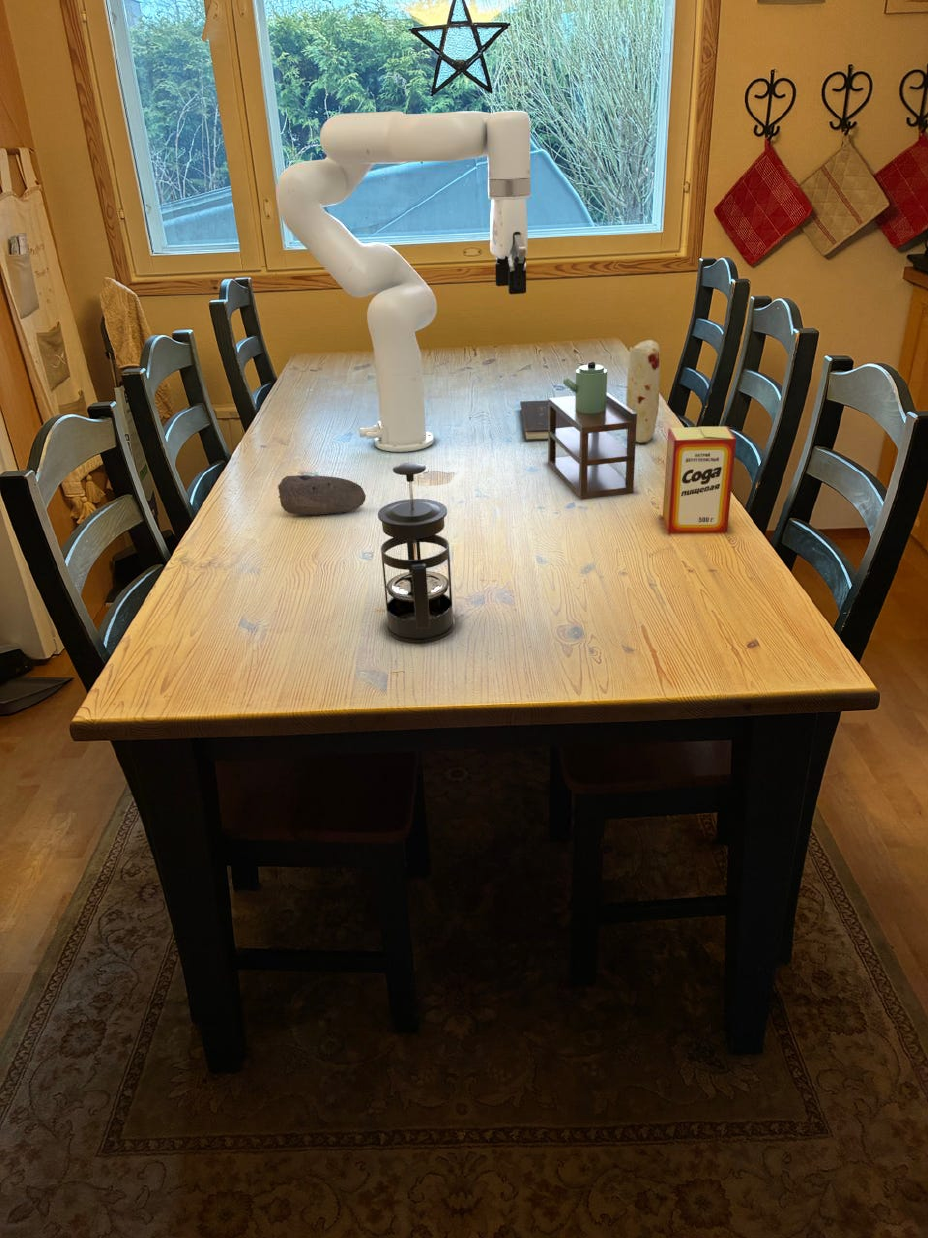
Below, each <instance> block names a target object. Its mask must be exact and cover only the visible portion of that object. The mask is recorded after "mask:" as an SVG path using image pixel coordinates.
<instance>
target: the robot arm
mask: <svg viewBox="0 0 928 1238" xmlns="http://www.w3.org/2000/svg"><path fill="white" fill-rule="evenodd" d="M319 143H320V146H321V149H322V151H323V153H324V154H325V155H326V157H325V158H323V159H316V160H315V159H314V160H306V161H300V162H296V163H293V164H290V165H289V166H288V167H286V168H285V169H284V170H283V171H282V172H281V174H280V175H279V178H278V179H277V183H276V190H275V194H276V195H275V196H276V197H275V199H276V205H277V209H278V213H279V215H280V217H281V219H282V222H283V223H284V225H285V227H286V228H287V229H288V231H289V232H290V233H291V234H292V235H293V237H295V238H296V239H297V240H298V241H299V243H301V245H303V246H304V247H305V248H306V249H307V251H309V252H310V254H311V255H312V256H313V257H314V258H315V259H316V260H317V261H318V263H319V264H320V266H322V268H323V269H325V271H326V272H327V273H328V274H329V275H330V276H331V277H332V279H334V281H335V282H336V283H337V284H338V285H339V286H340V288H342V289H343V290H344V291H345V292H346V294H348V295H350V296H351V297H354V298H365V297H369V296H371V295H374V294H376V295H375V296H374V297H373V298H372V299H371V301H370V302H369V305H368V308H367V312H366V321H367V327H368V330H369V335H370V338H371V342H372V348H373V354H374V364H375V365H374V366H375V373H376V374H375V375H376V385H377V397H378V408H379V419H380V420H378V421H377V425H373V427H359V428H358V434H359V438H366V439H367V440H372V439H374V445H375V447H376V448H377V449H378V450H382V451H384V452H385V451H387V452H394V453H403V452H404V453H407V452H413V451H418V450H423V449H426V448H428V447H430V446H431V445H433V443H434V442H435V438H434V435H433V433H432V432H430V431H427V426H426V425H427V424H426V409H425V392H424V376H423V375H424V374H423V363H422V354H421V350H420V346H419V342H418V340H417V337H416V332H417V331H420V330H422V329H424V328H426V327H427V326H429V325H430V324H431V323H432V322H433V321H434V320H435V318H436V315H437V311H438V302H437V299H436V296H435V294H434V292H433V290H432V288H431V287H430V286H429V285H428V283H427V282H426V281H425V280H424V279H423V278H422V277H421V276H420V275H419V273H418V272H417V271H416V270H415V269H414V268H413V267H412V266H411V264H409V262H408V261H407V260H406V259H405V258H404V257H403V256H402V255H401V253H400V252H398V251H397V250H396V249H395V248H393V247H392V246H390V245H389V244H387V243H383V242H375V241H374V242H369V243H366V244H365V243H362V242H361V241H359V240H358V239H357V238H356V237H355V236H354V235H353V234H352V233H351V231H349V230H348V228H347V227H346V226H345V225H344V224H343V223H342V222H341V220H339V219H337V218H336V217H335V216H333V215H332V214H330V213H329V212H327V211H326V210H325V209H324V208H325V207H330V206H331V207H332V206H336V205H339V204H341V203H343V202H344V201H346V200H347V199H348V198H349V197H350V196H351V195H352V194H353V192H355V190H356V189H357V187H358V186H359V185H360V184H361V183H362V181H363V180H364V178H365V177H366V176H367V175H368V173H369V172H370V170H371V169H372V168H373V167H374V165H376V164H406V163H411V162H412V163H424V162H425V163H426V162H429V163H431V162H458V161H464V160H473V159H480V158H484V157H487V193H488V197H487V198H488V200H489V201H490V200H491V205H490V220H489V221H490V226H489V227H490V228H489V230H490V231H489V251H490V253H491V255H493V256H494V261H495V262H494V264H495V265H494V270H495V271H494V272H495V273H494V275H495V277H494V279H495V286H496V287H507V286H508V294H509V295H524V294H526V293H527V264H526V262H527V258H526V256H527V254H528V213H527V212H528V210H527V200H528V199H530V198H531V119H530V115H529V114H528V113H527V112H526V111H521V110H508V111H507V110H506V111H505V110H504V111H495V112H484V111H477V110H476V111H473V110H472V111H467V110H465V111H452V112H451V111H449V112H435V113H404V112H402V111H397V110H396V111H393V110H392V111H379V112H378V111H373V112H354V113H353V112H350V113H340V114H335V115H333V116H331V117H329V118H328V119H327V120H326V121H325V122H324V123H323V125H322V127H321V130H320V133H319Z"/></svg>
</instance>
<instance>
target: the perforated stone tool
mask: <svg viewBox="0 0 928 1238" xmlns="http://www.w3.org/2000/svg"><path fill="white" fill-rule="evenodd" d="M277 490H278V494H279V496H278V498H279V502H280V506H281V507H282V509H283V511H285V512H287V513H288V514H293V515H303V516H312V515H329V514H330V515H331V514H341V513H342V514H343V513H347V512H352V511H355V510H357V509H359V508H360V507H362V506H363V505H364V503H365V501H366V497H367V495H366V493H365V491H364V488H363V487H362V486H361V485H360V484H359V483H356V482H354V481H352V480H349V479H345V478H342V477H336V476H328V475H317V474H316V475H308V474H303V475H302V474H301V475H300V474H297V475H286V476H285V477H283V478H282V479H281V481H280V483H279V484H278V485H277Z"/></svg>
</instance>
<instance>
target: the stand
mask: <svg viewBox="0 0 928 1238" xmlns="http://www.w3.org/2000/svg"><path fill="white" fill-rule="evenodd" d="M547 400H548V404H549V405H548V441H547V461H548V462H547V465H548V466H549V467H550V468H551V469H552V470H553V471H554V473H556V474H557V476H558V477H559V478H560V479H561V480H562V481H563V482H564V483H565V484H566V485H567V486H568V487H569V488H570V490H571V491H572V492H573V493H574V494H575V495H576V496H577V497H578V498H579V499H580V500H585V499H595V498H602V497H610V496H611V497H612V496H619V495H627V494H634V488H635V487H634V485H635V469H636V468H635V467H636V465H635V464H636V463H635V462H636V446H637V445H636V443H637V442H636V426H637V422H636V421H637V413H635V412H634V411H633V410H631V409H630V408H628V407H627V406H626V404H624V403H623V402H622V401H620V400H619V399H617V398H616V397H615V396H613V395H612V394H610V393H609V392H607V397H606V410H605V411H604V412H600V413H593V414H588V413H580V412H577V411H576V410H575V395H566V396H557V397H549V398H547ZM556 411H557V412H558V413H559V414H560V415H561V416H562V417H563V418H565V419H566V420H567V421H568V422H569V423H570V424H571V425H573V426H574V427H566V428H557V429H556ZM626 429H628V434H627V435H626V446H624V445H623V444H622V443H621V442H619V441H618V440H617V439H616V438H615V437H614V436H612V435H611V433H609V432H612V431H621V430H626ZM557 445H558V446H559V447H560V448H562V449H563V450H564V451H565V452H566V454H568V455H569V456H568V455H567V456H558V457H557V455H556V454H557ZM617 463H625V477H624V476H622V475H621V474H620V473H619V472H618V471H617V470H616V469H615V468H614V467H613V466H611V465H610V464H617Z"/></svg>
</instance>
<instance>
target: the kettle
mask: <svg viewBox="0 0 928 1238" xmlns="http://www.w3.org/2000/svg"><path fill="white" fill-rule="evenodd" d="M562 384H563V385H564V386H565V387H567V388H568V389H570V390H571V391H572V392H573V393H574V394H575V395H574V396H575V410H576V411H577V412H580V413H588V414H593V413H600V412H604V411H605V410H606V397H607V393H608V369H607V368H605V367H604V366H603V365H600V364H596V362H594V361H589V362H588V364H584V365H580V366H579V367H578V368H577V369H576V370H575V382H574V381H572V380H571V379H570V378H568V377H565V378H564V379H563V380H562Z"/></svg>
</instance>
